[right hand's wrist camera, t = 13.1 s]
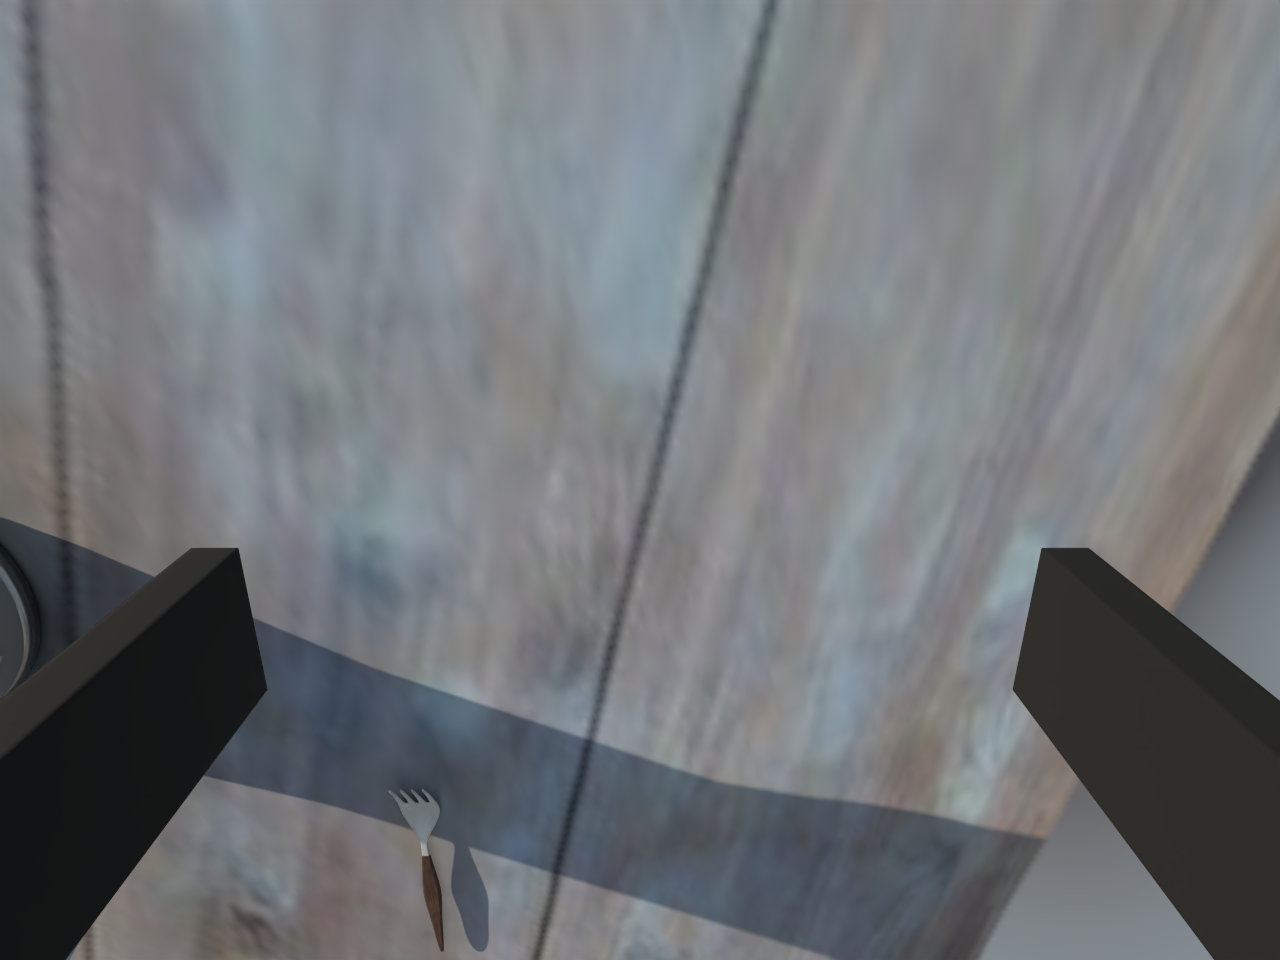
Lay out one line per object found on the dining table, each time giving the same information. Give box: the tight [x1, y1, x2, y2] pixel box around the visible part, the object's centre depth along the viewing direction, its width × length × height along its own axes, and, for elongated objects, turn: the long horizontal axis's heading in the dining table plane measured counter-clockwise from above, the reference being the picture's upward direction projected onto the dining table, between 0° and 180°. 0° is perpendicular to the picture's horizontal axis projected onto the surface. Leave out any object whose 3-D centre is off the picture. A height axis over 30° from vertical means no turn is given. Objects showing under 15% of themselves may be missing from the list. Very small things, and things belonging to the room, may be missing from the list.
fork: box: [388, 789, 444, 952], centre depth 52 cm, size 3×16×2 cm, turn 2°
